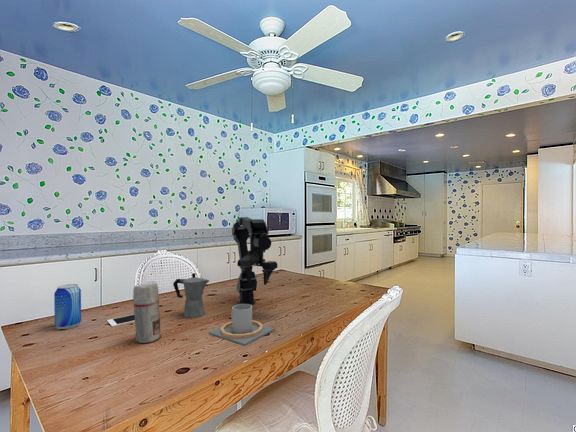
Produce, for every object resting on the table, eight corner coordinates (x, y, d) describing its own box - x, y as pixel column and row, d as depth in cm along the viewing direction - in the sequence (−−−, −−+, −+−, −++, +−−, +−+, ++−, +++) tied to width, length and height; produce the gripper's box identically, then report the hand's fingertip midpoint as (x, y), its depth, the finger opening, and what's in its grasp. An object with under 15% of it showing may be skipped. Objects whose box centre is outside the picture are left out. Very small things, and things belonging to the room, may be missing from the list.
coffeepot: (211, 310, 135) (211, 270, 135) (206, 317, 126) (206, 275, 126) (177, 311, 135) (176, 271, 135) (169, 318, 125) (169, 275, 125)
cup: (240, 336, 104) (240, 311, 104) (224, 329, 111) (223, 305, 111) (256, 330, 109) (256, 306, 109) (239, 324, 116) (239, 301, 116)
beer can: (86, 323, 120) (85, 284, 120) (64, 331, 112) (64, 289, 112) (71, 321, 123) (71, 282, 123) (49, 329, 115) (48, 287, 115)
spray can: (143, 346, 99) (142, 285, 99) (129, 341, 103) (128, 283, 103) (166, 337, 106) (165, 281, 106) (151, 332, 110) (151, 278, 110)
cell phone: (159, 317, 128) (159, 315, 128) (111, 328, 116) (111, 325, 116) (152, 312, 135) (152, 310, 135) (106, 322, 123) (106, 320, 123)
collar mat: (208, 333, 109) (208, 328, 109) (239, 320, 122) (239, 316, 122) (244, 345, 99) (244, 340, 98) (274, 330, 112) (274, 325, 112)
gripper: (228, 248, 130) (228, 284, 130) (261, 251, 119) (261, 290, 119) (245, 246, 139) (246, 279, 139) (278, 248, 128) (278, 284, 128)
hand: (257, 283), depth 131 cm, fingers open, 9 cm apart
